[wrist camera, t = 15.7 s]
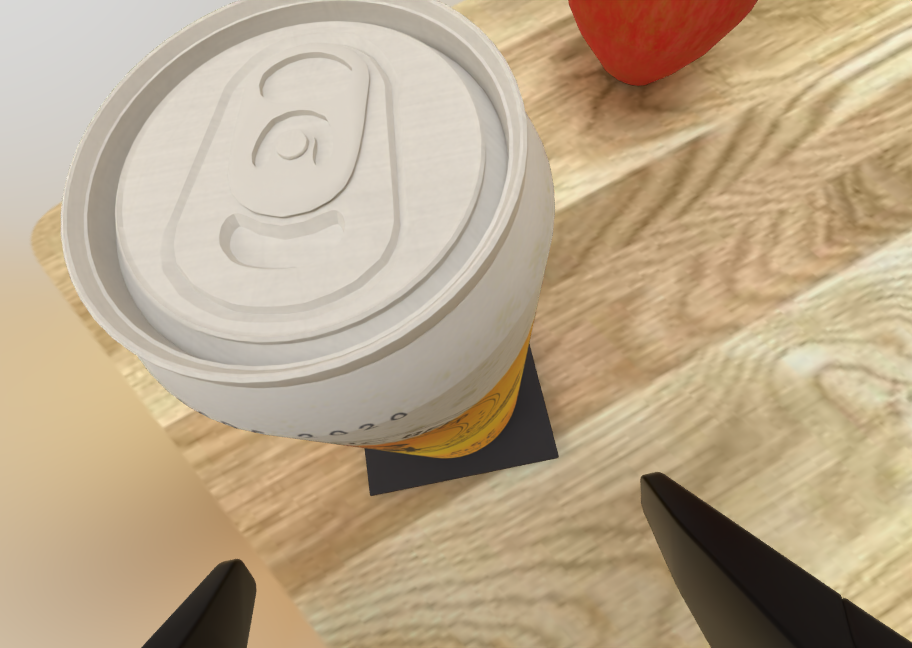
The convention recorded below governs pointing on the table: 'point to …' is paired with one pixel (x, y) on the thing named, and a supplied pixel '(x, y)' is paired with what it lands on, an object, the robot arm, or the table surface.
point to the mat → (512, 447)
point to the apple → (654, 33)
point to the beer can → (320, 222)
